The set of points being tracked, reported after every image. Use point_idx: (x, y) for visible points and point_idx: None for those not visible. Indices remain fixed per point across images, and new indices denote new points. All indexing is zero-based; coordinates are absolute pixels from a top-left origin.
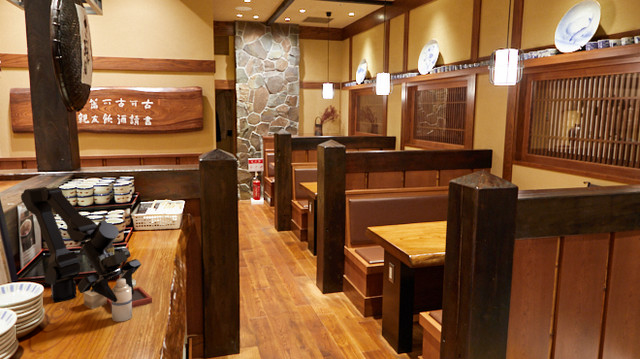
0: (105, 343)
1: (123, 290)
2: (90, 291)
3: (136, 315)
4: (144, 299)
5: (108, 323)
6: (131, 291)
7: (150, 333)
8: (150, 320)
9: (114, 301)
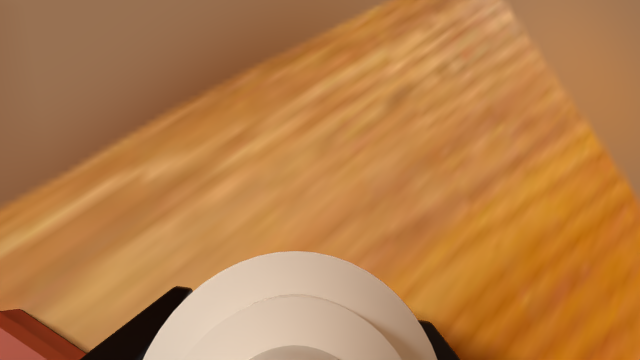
0: (542, 190)
1: (348, 309)
2: None
3: None
4: (28, 348)
5: None
6: None
7: (373, 65)
8: (261, 146)
9: None
